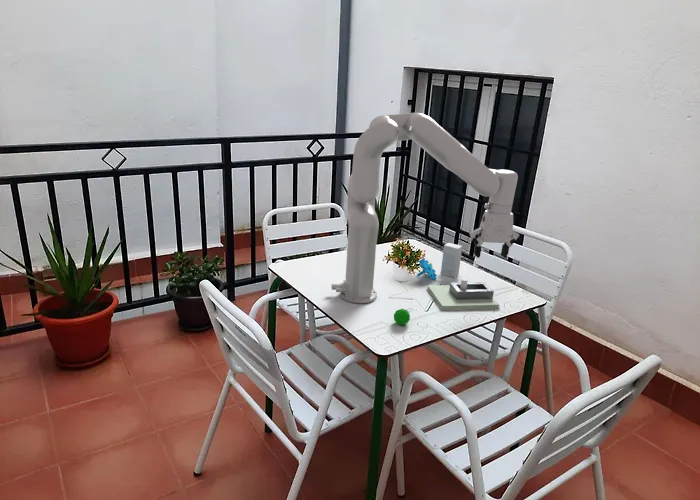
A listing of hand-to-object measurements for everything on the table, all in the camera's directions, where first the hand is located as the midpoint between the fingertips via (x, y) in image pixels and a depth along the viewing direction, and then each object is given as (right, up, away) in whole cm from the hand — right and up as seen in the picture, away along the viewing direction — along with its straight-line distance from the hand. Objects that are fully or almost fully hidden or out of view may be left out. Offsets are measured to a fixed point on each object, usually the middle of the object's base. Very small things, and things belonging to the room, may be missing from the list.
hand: (490, 256), depth 167 cm
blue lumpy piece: (-18, -8, +20) cm, 29 cm away
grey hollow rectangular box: (-6, -13, +4) cm, 15 cm away
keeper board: (-9, -15, +4) cm, 18 cm away
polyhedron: (-32, -21, -15) cm, 41 cm away
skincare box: (-9, -8, +24) cm, 27 cm away
